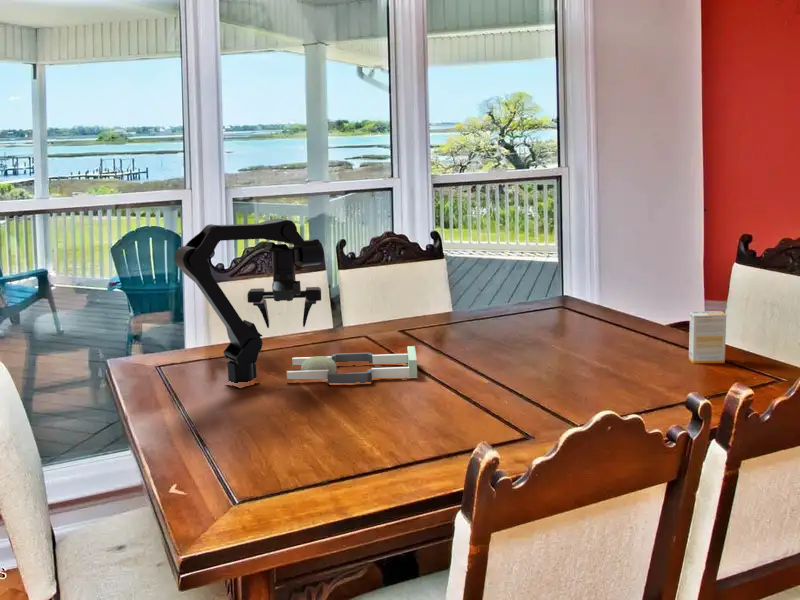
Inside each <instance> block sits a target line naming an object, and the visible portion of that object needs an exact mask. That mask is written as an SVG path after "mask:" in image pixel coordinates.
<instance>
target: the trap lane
mask: <svg viewBox="0 0 800 600" xmlns="http://www.w3.org/2000/svg"><path fill="white" fill-rule="evenodd" d="M311 357H312V356H306V357H292V358H291V359H292V366H293V365H302V363H303V362H304V361H305V360H306V359H308V358H311ZM326 357H329V358H331V359H332V360H334V362H335V363H336V362H348V361H369V363H373V364H396V363H408V353H390V354H389V353H388V354H386V353H385V354H373V352H372V351H371V352H370V351H369V352H348V353H347V352H345V353H332V354H331V356H329V355H328V356H326ZM405 377H409V367H408V366H388V367H371V368H369V369H367V371H361V372H360V371H359V372H358V371H357V372H354V371H353V372H335V373H332V371H329V370H306V371H301V370H287V371H286V380H287V379H328V382H327V384H328V383H356V382H360V383H365V382H372V383H373V381H372V378H405Z"/></svg>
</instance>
